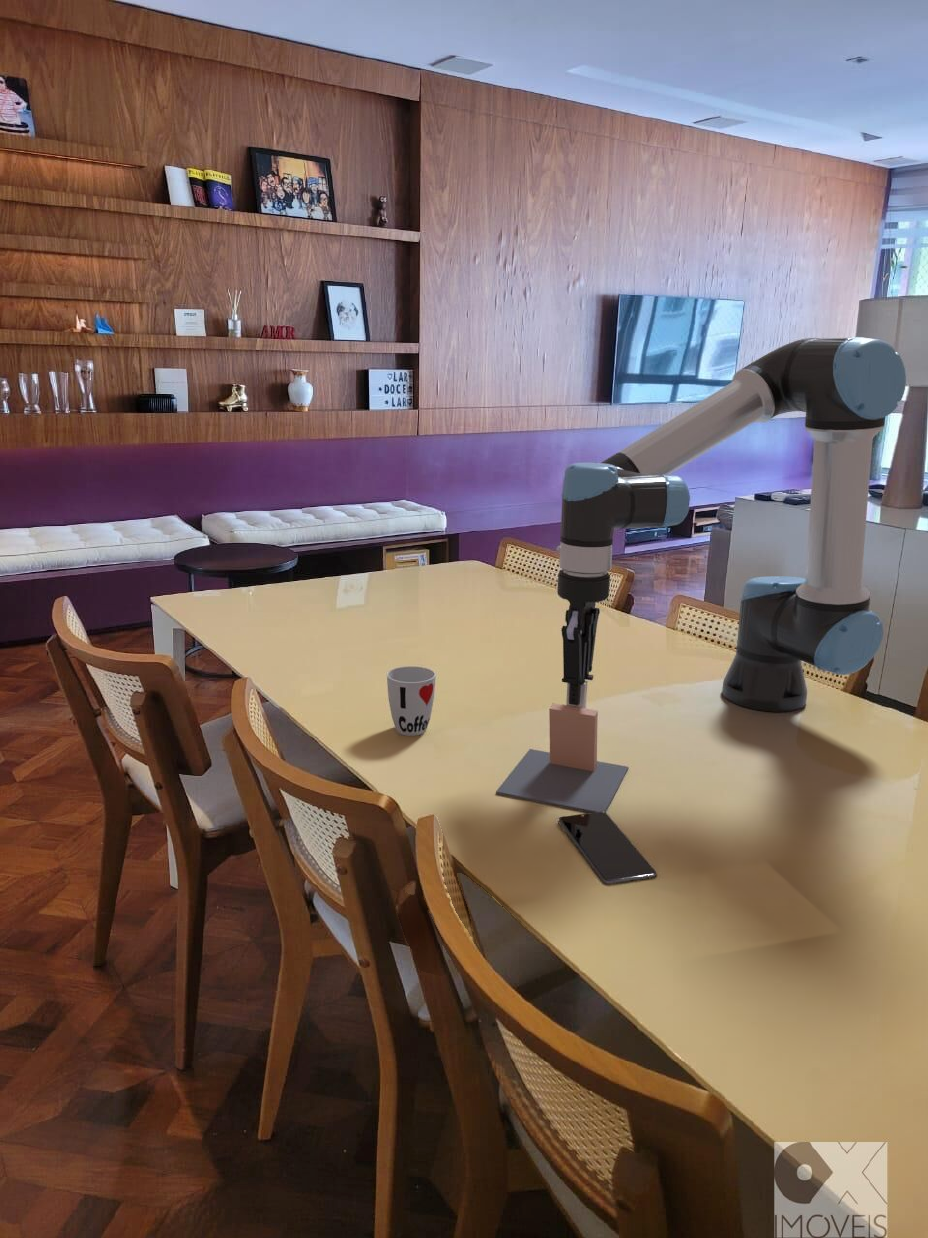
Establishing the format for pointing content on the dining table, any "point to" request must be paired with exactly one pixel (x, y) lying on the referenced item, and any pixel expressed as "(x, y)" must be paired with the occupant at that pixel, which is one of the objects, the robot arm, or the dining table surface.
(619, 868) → the smartphone
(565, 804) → the mat
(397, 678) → the cup
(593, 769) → the slab
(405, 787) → the dining table surface
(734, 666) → the robot arm
